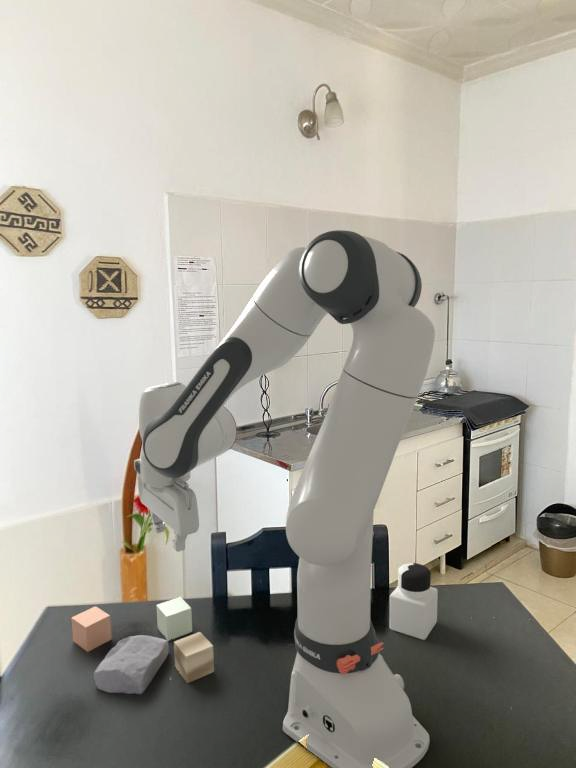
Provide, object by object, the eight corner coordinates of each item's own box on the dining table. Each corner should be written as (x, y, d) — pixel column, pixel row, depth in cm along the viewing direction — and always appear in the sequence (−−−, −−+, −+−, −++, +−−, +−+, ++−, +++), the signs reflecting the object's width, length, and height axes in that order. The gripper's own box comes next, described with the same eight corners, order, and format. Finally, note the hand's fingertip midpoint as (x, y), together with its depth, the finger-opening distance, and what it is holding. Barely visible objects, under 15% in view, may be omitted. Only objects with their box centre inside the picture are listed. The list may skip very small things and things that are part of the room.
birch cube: (214, 672, 99) (213, 645, 98) (187, 683, 96) (185, 656, 95) (201, 657, 103) (200, 631, 102) (175, 667, 100) (173, 641, 100)
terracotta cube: (111, 639, 109) (109, 615, 108) (87, 652, 105) (85, 627, 104) (97, 629, 112) (95, 606, 111) (73, 642, 108) (71, 617, 107)
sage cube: (192, 631, 111) (191, 608, 110) (167, 641, 108) (166, 616, 107) (181, 620, 115) (180, 596, 114) (157, 628, 112) (156, 604, 111)
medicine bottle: (437, 622, 112) (438, 564, 110) (425, 641, 106) (426, 580, 104) (402, 611, 116) (403, 556, 114) (388, 629, 110) (389, 571, 108)
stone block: (91, 701, 95) (146, 697, 93) (84, 674, 95) (139, 669, 93) (125, 658, 107) (174, 654, 105) (119, 634, 106) (168, 629, 104)
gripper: (206, 482, 99) (208, 557, 102) (161, 453, 116) (163, 518, 118) (172, 489, 96) (175, 566, 98) (130, 459, 113) (133, 525, 115)
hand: (168, 540), depth 108 cm, fingers open, 8 cm apart
